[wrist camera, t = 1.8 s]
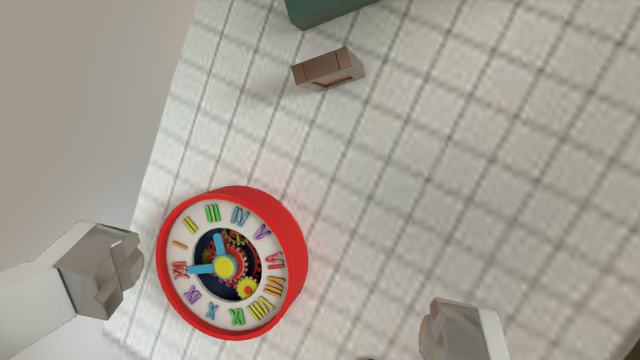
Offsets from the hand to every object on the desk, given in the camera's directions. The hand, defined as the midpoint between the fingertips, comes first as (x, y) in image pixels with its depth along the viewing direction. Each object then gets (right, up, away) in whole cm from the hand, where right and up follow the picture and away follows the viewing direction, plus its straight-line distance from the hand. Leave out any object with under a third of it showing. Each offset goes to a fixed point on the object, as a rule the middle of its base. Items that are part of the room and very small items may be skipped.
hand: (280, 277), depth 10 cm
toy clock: (-10, -8, +43) cm, 45 cm away
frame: (+4, +16, +35) cm, 39 cm away
